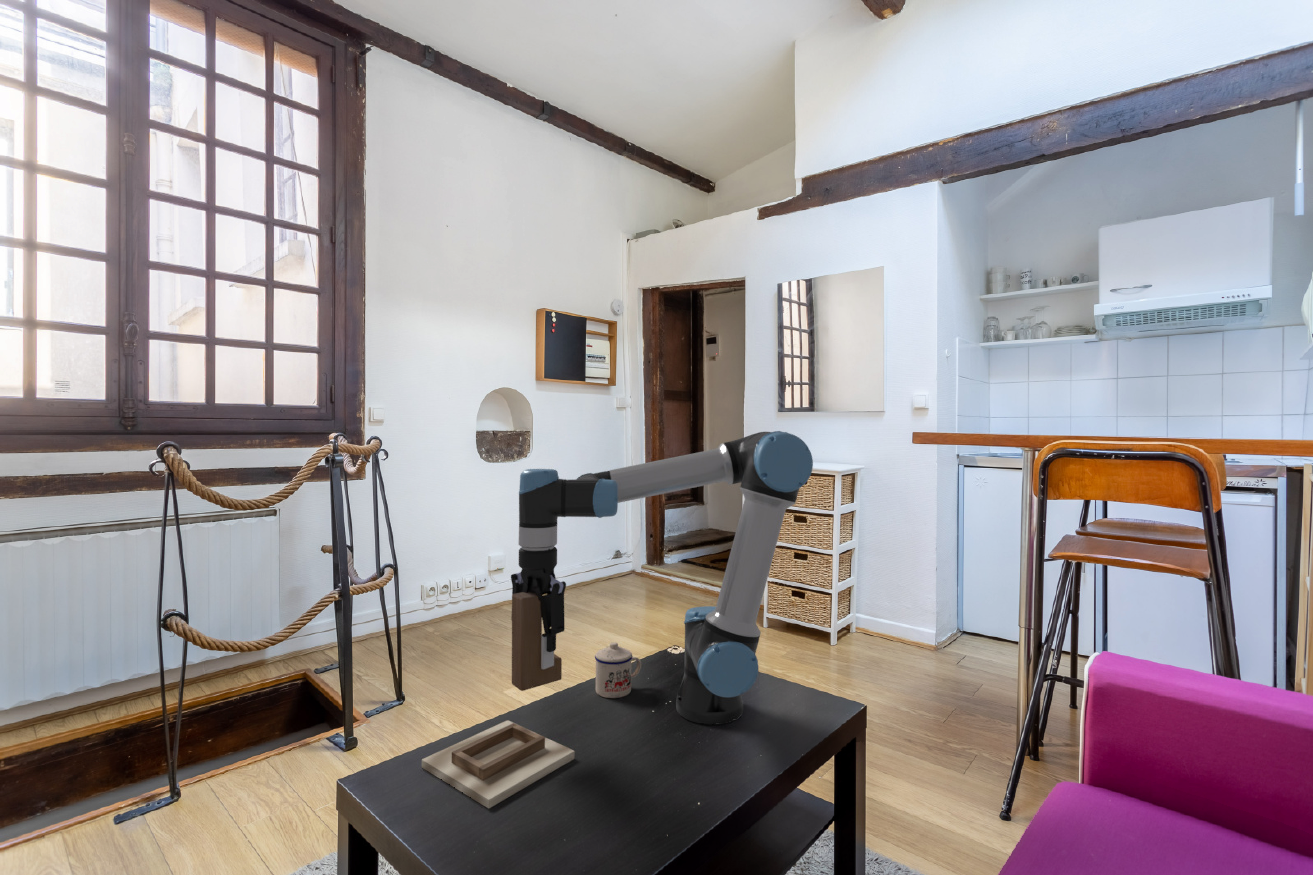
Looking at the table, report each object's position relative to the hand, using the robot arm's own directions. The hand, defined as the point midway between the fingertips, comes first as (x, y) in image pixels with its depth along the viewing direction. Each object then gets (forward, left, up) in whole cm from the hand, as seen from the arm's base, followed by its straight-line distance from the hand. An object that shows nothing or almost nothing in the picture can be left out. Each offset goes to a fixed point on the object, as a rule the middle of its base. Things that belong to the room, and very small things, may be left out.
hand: (537, 663), depth 122 cm
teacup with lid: (+5, -31, -17) cm, 36 cm away
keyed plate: (+1, +8, -17) cm, 19 cm away
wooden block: (0, 0, -4) cm, 4 cm away
